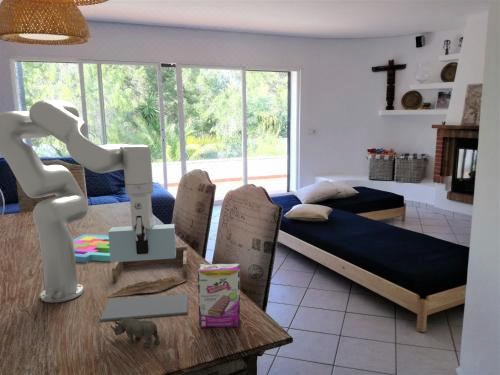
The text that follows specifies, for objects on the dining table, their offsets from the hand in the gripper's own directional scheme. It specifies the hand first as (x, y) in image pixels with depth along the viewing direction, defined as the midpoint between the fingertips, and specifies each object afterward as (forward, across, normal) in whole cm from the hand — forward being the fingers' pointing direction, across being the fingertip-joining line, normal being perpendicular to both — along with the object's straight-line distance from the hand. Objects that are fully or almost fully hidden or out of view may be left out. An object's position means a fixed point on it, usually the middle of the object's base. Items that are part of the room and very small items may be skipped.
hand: (143, 250), depth 115 cm
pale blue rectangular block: (+2, 0, 0) cm, 2 cm away
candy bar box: (+18, -13, -21) cm, 31 cm away
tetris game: (+18, +58, +28) cm, 67 cm away
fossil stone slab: (+18, +14, +1) cm, 23 cm away
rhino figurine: (+18, -18, +1) cm, 25 cm away
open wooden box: (+18, +30, +1) cm, 35 cm away
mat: (+18, 0, 0) cm, 18 cm away
